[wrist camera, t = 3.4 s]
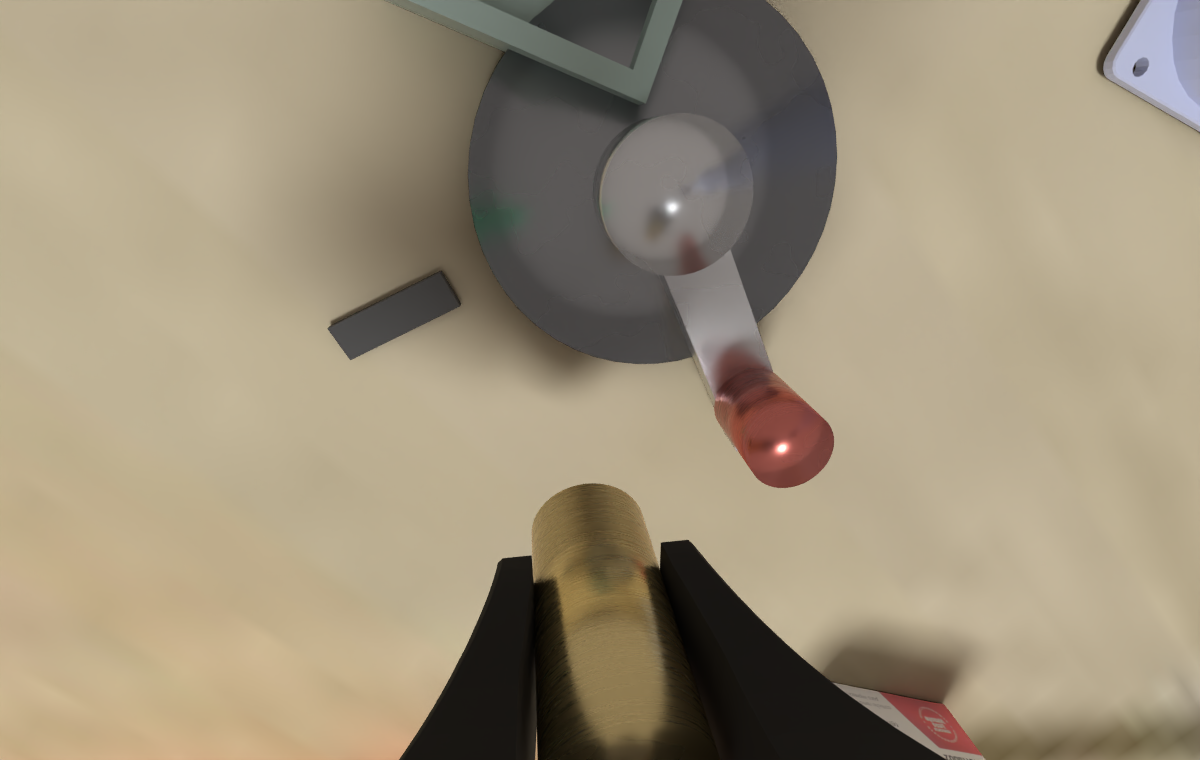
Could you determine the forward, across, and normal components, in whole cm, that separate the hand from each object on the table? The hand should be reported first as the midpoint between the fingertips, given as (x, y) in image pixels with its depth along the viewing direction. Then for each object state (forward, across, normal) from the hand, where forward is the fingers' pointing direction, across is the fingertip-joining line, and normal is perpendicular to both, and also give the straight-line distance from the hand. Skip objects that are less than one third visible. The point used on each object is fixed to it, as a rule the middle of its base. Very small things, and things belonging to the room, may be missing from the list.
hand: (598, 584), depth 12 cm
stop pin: (+2, 0, 0) cm, 2 cm away
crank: (+7, -4, -4) cm, 10 cm away
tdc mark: (+9, +5, -4) cm, 11 cm away
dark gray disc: (+9, -3, -7) cm, 12 cm away
